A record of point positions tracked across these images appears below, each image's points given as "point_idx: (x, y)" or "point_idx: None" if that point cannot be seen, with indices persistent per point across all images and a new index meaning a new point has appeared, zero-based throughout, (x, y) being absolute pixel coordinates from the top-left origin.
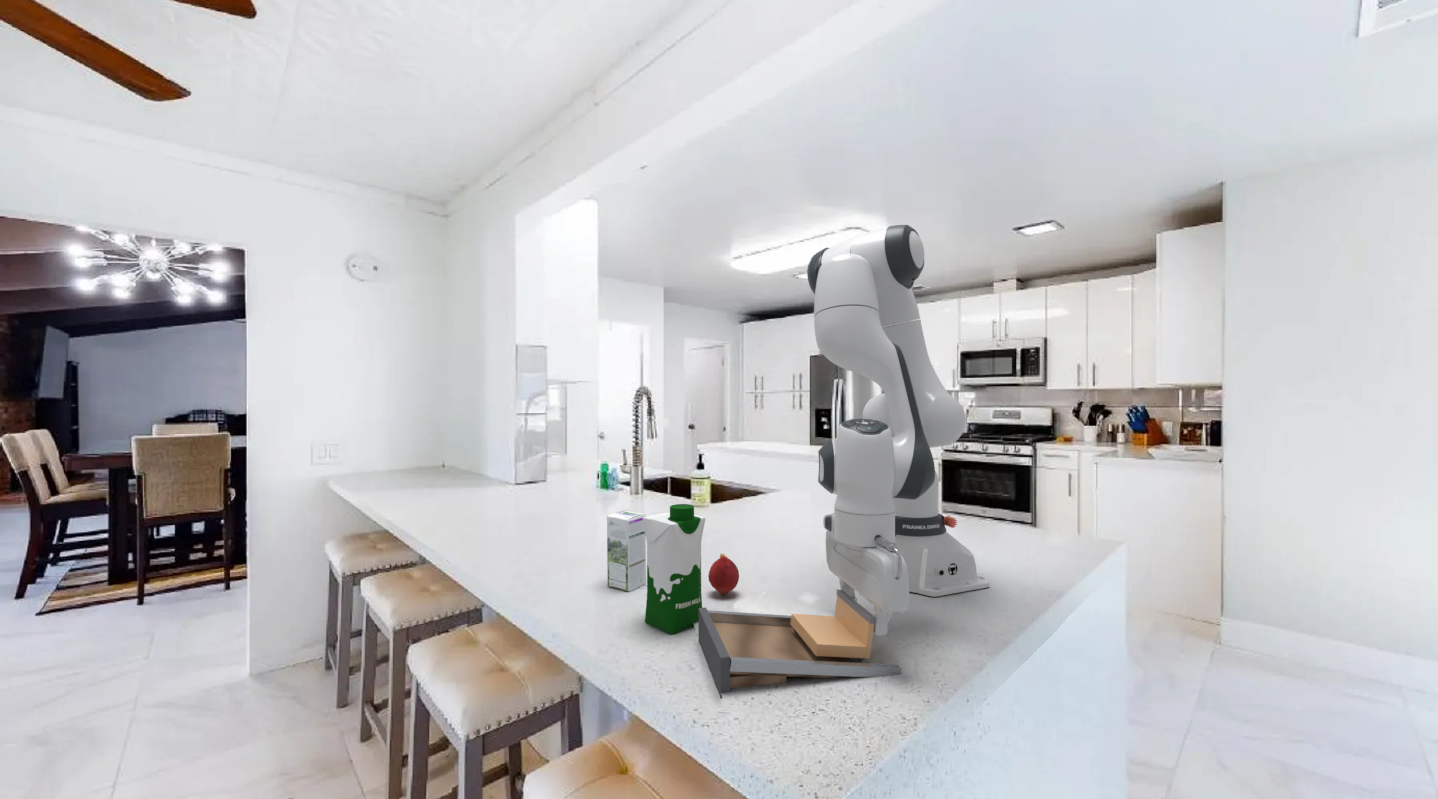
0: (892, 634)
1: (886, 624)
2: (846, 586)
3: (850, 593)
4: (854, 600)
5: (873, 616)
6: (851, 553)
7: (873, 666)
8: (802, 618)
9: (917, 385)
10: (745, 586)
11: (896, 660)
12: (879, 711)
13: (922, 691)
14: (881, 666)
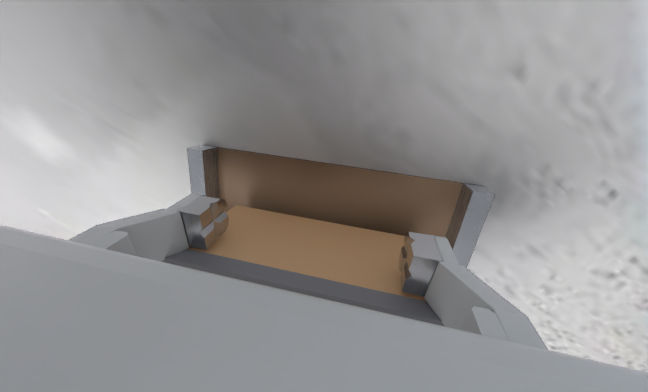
0: (249, 38)
1: (454, 260)
2: (139, 253)
3: (170, 232)
4: (260, 281)
5: (436, 323)
6: None
7: (465, 263)
8: None
9: None
10: (23, 225)
11: (398, 134)
12: (554, 293)
13: (567, 176)
14: (471, 244)
